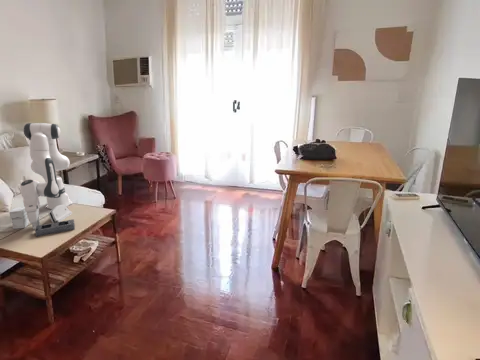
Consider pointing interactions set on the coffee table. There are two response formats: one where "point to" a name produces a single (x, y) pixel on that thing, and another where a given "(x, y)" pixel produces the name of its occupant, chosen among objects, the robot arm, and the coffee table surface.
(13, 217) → the supplement box
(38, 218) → the nut block
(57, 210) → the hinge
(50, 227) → the rail
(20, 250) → the coffee table surface
